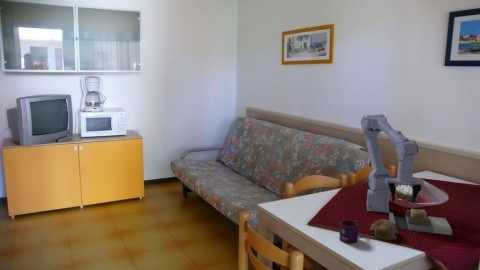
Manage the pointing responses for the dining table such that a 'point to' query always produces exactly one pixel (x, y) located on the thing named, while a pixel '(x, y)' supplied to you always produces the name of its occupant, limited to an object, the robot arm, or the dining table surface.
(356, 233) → the mug
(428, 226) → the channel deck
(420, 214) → the wooden block
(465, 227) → the dining table surface
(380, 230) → the bread roll
